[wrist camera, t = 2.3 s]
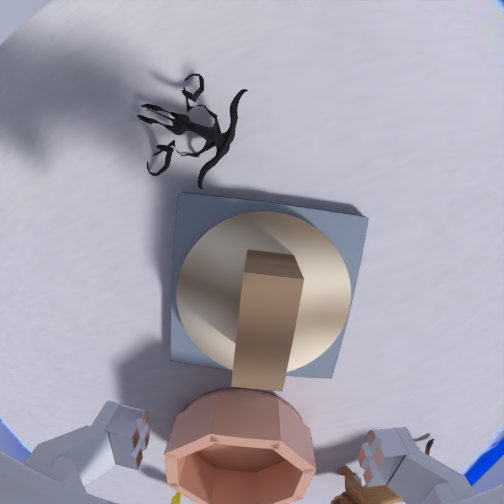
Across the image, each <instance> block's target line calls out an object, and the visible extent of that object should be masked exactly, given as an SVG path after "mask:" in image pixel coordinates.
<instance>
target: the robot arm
mask: <svg viewBox="0 0 504 504" xmlns="http://www.w3.org/2000/svg"><path fill="white" fill-rule="evenodd" d="M147 421H148V412H147V411H146V410H142V409H138V408H134V407H131V406H127V405H123V404H119V403H116V402H112V401H108V402H106V403H105V405H104V406H103V408H102V409H101V411H100V412H99V414H98V416H97V417H96V419H95V420H94V422H93V423H92V425H91V426H84V427H82V428H79V429H77V430H74V431H72V432H69V433H67V434H64V435H62V436H59V437H56V438H54V439H51V440H48V441H46V442H43V443H40V444H38V445H37V447H36V448H35V449H34V451H33V452H32V453H31V455H30V456H29V457H28V459H27V460H26V461H25V463H24V464H22V463H20V462H18V461H16V460H15V459H13V458H11V457H9V456H8V455H6V454H4V453H3V452H1V451H0V504H117V503H114V502H111V501H108V500H105V499H102V498H99V497H96V496H94V495H91V494H88V493H87V492H86V490H85V488H84V485H86V484H87V483H89V482H91V481H92V480H94V479H95V478H97V477H99V476H100V475H102V474H103V473H105V472H106V471H108V470H109V469H111V468H113V467H114V466H116V465H115V464H117V465H120V466H124V467H128V468H132V469H136V470H138V468H139V465H140V463H141V460H142V458H143V457H142V451H144V450H146V448H147V445H148V441H149V433H150V430H149V426H148V425H147V424H146V423H147ZM366 439H367V442H365V443H364V444H363V445H362V446H361V449H360V451H359V463H360V467H362V468H363V469H364V470H366V471H365V472H364V474H363V476H364V479H365V482H366V485H367V487H372V486H382V485H387V487H388V488H389V489H391V490H392V491H393V492H394V493H395V494H396V495H397V496H398V497H400V498H401V499H402V500H403V501H404V502H405V503H406V504H504V484H502V485H499V486H497V487H495V488H492V489H490V490H487V491H485V492H482V493H480V494H477V495H475V493H474V491H473V489H472V488H471V486H470V484H469V482H468V481H467V479H466V477H465V476H464V475H462V474H460V473H458V472H456V471H455V470H453V469H451V468H449V467H448V466H446V465H444V464H442V463H441V462H439V461H437V460H435V459H434V458H432V457H430V456H429V455H427V454H425V453H420V451H419V449H418V447H417V445H416V443H415V442H414V440H413V438H412V436H411V434H410V433H409V431H408V429H407V428H406V427H399V428H389V429H377V430H370V431H369V432H368V434H367V436H366Z"/></svg>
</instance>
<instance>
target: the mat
mask: <svg viewBox="0 0 504 504" xmlns="http://www.w3.org/2000/svg"><path fill="white" fill-rule="evenodd" d="M258 211H270V212H279V213H284V214H288V215H291V216H294V217H297V218H299V219H301V220H303V221H305V222H307V223H309V224H311V225H312V226H314V227H315V228H317V229H318V230H319V231H320V232H321V233H322V234H324V235H325V236H326V237H327V238H328V239H329V240H330V241H331V243H332V244H333V245H334V246H335V247H336V249H337V250H338V252H339V253H340V255H341V257H342V258H343V261H344V263H345V265H346V268H347V271H348V275H349V278H350V286H351V302H350V308H351V304H352V300H353V296H354V291H355V287H356V282H357V277H358V273H359V268H360V263H361V258H362V253H363V248H364V242H365V237H366V231H367V225H368V219H369V218H367V217H365V216H360V215H353V214H347V213H341V212H334V211H328V210H321V209H314V208H307V207H300V206H293V205H285V204H278V203H270V202H262V201H254V200H245V199H237V198H228V197H219V196H209V195H200V194H189V193H178V201H177V213H176V226H175V240H174V256H173V275H172V300H171V361H174V362H180V363H186V364H192V365H198V366H205V367H211V368H218V369H226V370H231V369H229V368H227V367H224V366H222V365H220V364H219V363H217V362H215V361H213V360H212V359H211V358H209V357H208V356H206V355H205V354H204V353H203V352H202V351H201V350H200V349H199V348H198V347H197V346H196V345H195V344H194V342H193V341H192V340H191V338H190V337H189V335H188V334H187V332H186V330H185V328H184V326H183V324H182V322H181V319H180V316H179V312H178V307H177V297H176V290H177V281H178V277H179V273H180V270H181V267H182V265H183V262H184V260H185V258H186V257H187V255H188V253H189V252H190V250H191V249H192V247H193V246H194V245H195V244H196V243H197V241H198V240H199V239H200V238H201V237H202V236H203V235H204V234H205V233H206V232H208V231H209V230H210V229H211V228H213V227H214V226H216V225H217V224H219V223H221V222H223V221H225V220H226V219H228V218H231V217H234V216H237V215H240V214H244V213H249V212H258ZM350 308H349V312H348V316H347V319H346V322H345V324H344V326H343V328H342V330H341V332H340V333H339V335H338V337H337V338H336V340H335V341H334V342H333V343H332V344H331V346H330V347H329V348H328V349H327V350H326V351H325V352H324V353H323V354H321V355H320V356H319V357H317V358H316V359H315V360H313V361H311V362H310V363H308V364H306V365H304V366H302V367H300V368H297V369H295V370H292V371H289V372H286V376H295V377H310V378H331V379H332V376H333V372H334V369H335V365H336V362H337V358H338V355H339V351H340V348H341V344H342V340H343V336H344V333H345V329H346V325H347V321H348V317H349V313H350Z"/></svg>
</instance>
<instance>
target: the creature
mask: <svg viewBox="0 0 504 504" xmlns="http://www.w3.org/2000/svg"><path fill="white" fill-rule="evenodd" d="M193 75H195V76H199V81H200V87H199V89H198V90H197V91H196V92H195V93H194V95H193V94H192V93H190V92H188V91H186V90H185V88H184V90H182V93H183V95H185V96H186V99H187V112H188V111H189V110H190V109H191V108H193V107H191V106H189V103H188V98H189V99H191V100H192V101H194V102H195V101H196V100H197V98H198V97H199V95H200V94H201V93H202V92H203V91H204V79H203V77H202V76H201V75H200V74H192V75H190V76H188V77H187V78H186V79H185V81H186V80H187V79H188V78H189V77H191V76H193ZM185 81H184V82H185ZM246 91H248V90H246V89H243V90H241V91H240V92H239V93H238V94H237V95H236V96H235V98H234V99H233V101H232V103H231V105H230V118H231V123H230V127H229V129H228V131H227V132H225V133H222V134H221V130H220V127H219V124H218V120H217V115H216V114H214V113H212V112H211V111H209V110H208V109H207V107H206V106H204V105H198V106H204V107H205V108H206V109H207V111H208V112H209V113H210V114H211V115H212V116H213V118H214V119H215V123H214V126H213V127H205V126H202V125H198V124H195V123H193V122H191V121H190V118H189V117H188V116H187V115H184V114H177V113H175V112H168V111H166V110H164V109H162V108H161V107H159V106H156V105H151V104H144V105H141V107H146V108H149V109H152V110H155V111H165V112H168V113H170V114H171V115H172V116H173V117H174V119H172V118H169V117H167V116H164V115H162V114H160V115H162V116H164V117H166V118H168V119H170V120H171V121H172V123H173V126H170V125H166V124H162V123H160V122H158V121H156V120H155V119H152V118H147V117H145V116H141V115H137V117H139V119H141V120H143V121H144V122H146V123H149V124H152V123H158V124H161V125H164V126H165V127H166V128H167V129H169V130H170V131H172V132H173V133H174V134H176V135H182V134H184V132H185V131H192V132H194V133H196V134H198V135H200V136H201V137H203V138H204V139H205V140H206V144H205V146H204V148H203V149H202V150H201V151H199V152H197V153H195V154H186V155H189V156H193V157H199V155H200V154H201V153H203V152H204V151H207V150H209V149H211V148H212V147H214V146H216V148H217V153H216V156H215V157H214V158H213V159H211V160H210V161H209V162H207V163H206V164H205V165H204V166H203V167H202V169H201V171H200V174H199V177H198V186H199V188H200V189H203V188H202V181H203V178H204V176H205V174H206V173H207V171H208V170H210V169H211V168H212V167H214V166H215V165H216V164H217V163H218V161H219V160H220V159H221V158H222V157H223V156H224V155H225V154H226V153H227V152H228V151H229V147H230V144H231V142H232V141H233V139H234V136H235V127H236V123H237V119H238V116H237V107H238V103H239V100H240V98H241V96H242V95H243V94H244V92H246ZM149 109H148V110H149ZM152 110H150V111H152ZM153 112H154V111H153ZM155 113H157V112H155ZM157 114H159V113H157ZM170 146H174V147H175V140H174V141H173V142H172V143H170V144H169V145H168V146H165V145H157V147H156V148H158V149H160V150H161V151H159V152H157V153H155V154H154V155H157V154H159V153H161V152H162V151H166V152H167V154H166V158H165V165H164V166H163V167H162V168H161V169H160V170H159V171H158V172H157V173H152V172H150V171H149V168H148V162H147V168H148V171H149V173H150V174H151V175H153V176H158V175H160V174H161V173H162V172H164V171H165V170H166V169H167V168H168V167H169V165H170V161H171V156H172V152H173V151H174V148H172V147H170ZM176 151H177V150H176ZM177 152H178V151H177ZM178 153H179V152H178ZM179 154H180V153H179ZM180 155H181V154H180ZM186 155H181V156H186Z"/></svg>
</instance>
